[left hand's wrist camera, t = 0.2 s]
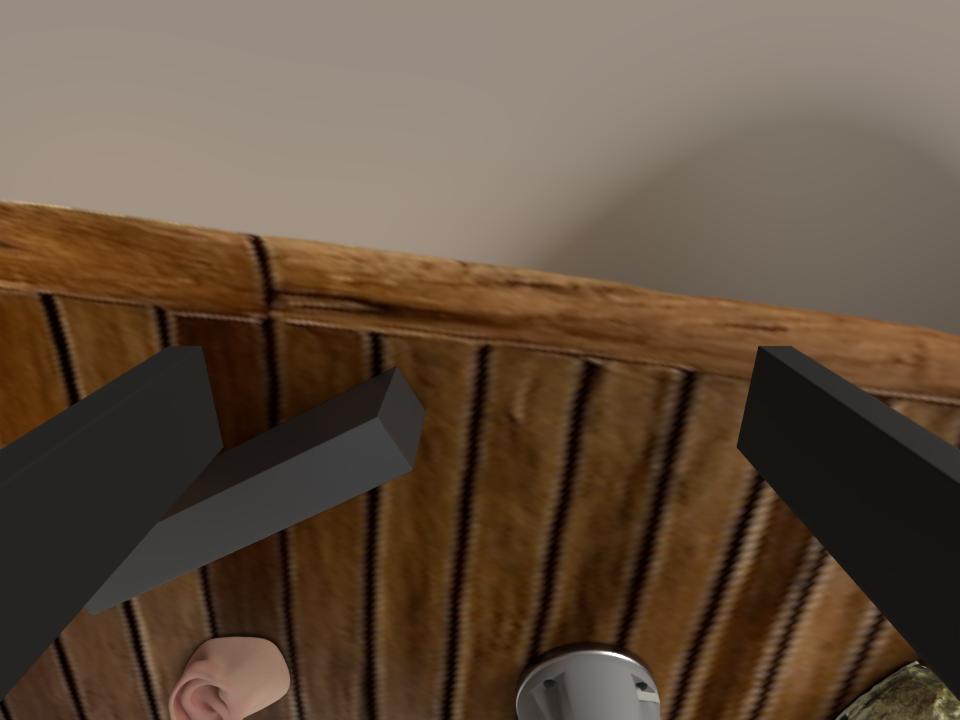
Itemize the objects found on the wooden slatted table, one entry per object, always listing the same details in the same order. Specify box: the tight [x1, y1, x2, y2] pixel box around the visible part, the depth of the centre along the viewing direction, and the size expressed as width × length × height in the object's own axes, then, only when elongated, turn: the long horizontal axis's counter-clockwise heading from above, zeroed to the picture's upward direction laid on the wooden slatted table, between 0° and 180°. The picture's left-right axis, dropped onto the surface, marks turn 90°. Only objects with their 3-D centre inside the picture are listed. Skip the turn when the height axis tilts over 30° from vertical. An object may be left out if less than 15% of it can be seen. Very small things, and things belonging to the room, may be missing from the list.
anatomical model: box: [169, 637, 290, 720], centre depth 53 cm, size 13×4×12 cm
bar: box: [84, 366, 426, 616], centre depth 41 cm, size 29×5×9 cm, turn 118°
